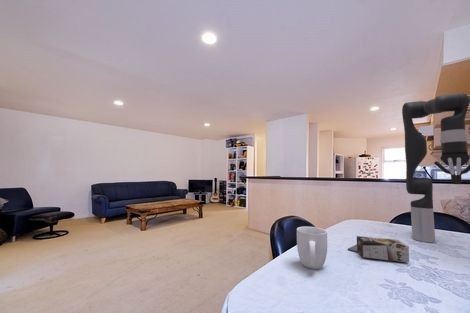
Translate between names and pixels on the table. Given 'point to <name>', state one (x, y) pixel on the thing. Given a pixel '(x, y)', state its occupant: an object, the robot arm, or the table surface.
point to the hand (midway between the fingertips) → (456, 184)
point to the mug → (312, 246)
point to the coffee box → (382, 249)
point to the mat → (354, 249)
